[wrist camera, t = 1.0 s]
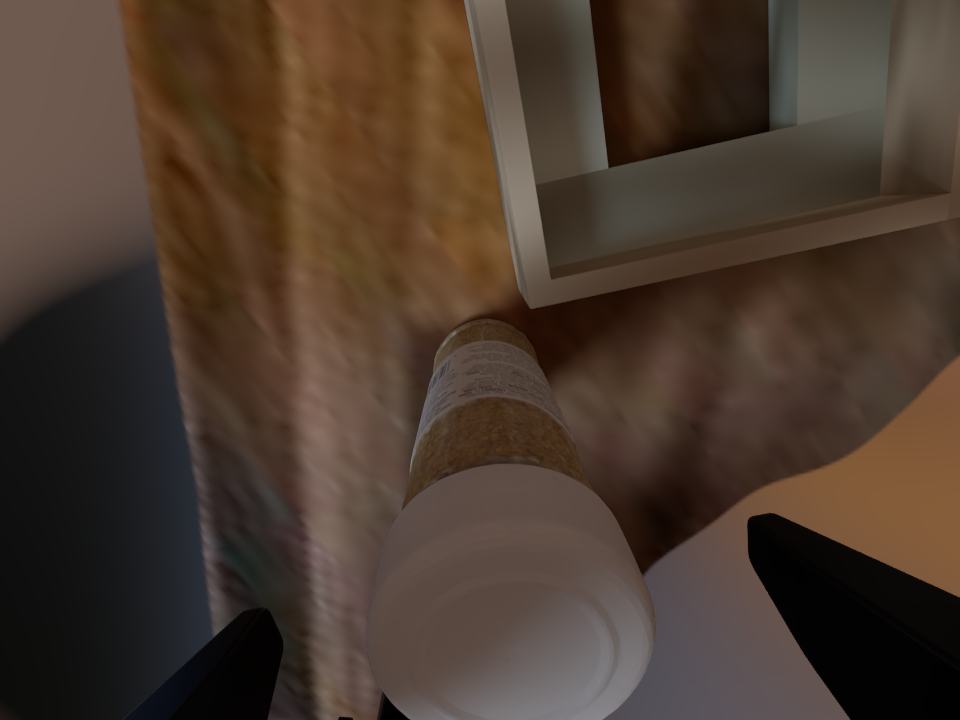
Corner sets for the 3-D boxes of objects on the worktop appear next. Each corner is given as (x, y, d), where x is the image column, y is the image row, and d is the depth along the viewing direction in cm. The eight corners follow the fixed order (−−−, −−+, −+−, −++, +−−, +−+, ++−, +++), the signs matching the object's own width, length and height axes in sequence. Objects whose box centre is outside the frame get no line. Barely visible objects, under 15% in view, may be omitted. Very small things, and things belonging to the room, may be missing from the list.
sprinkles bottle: (494, 432, 20) (532, 800, 8) (412, 376, 20) (299, 686, 7) (559, 356, 19) (730, 638, 7) (476, 292, 18) (485, 475, 6)
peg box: (866, 213, 18) (974, 214, 14) (518, 289, 18) (530, 309, 15) (893, -271, 13) (1061, -463, 10) (436, -147, 14) (423, -281, 10)
